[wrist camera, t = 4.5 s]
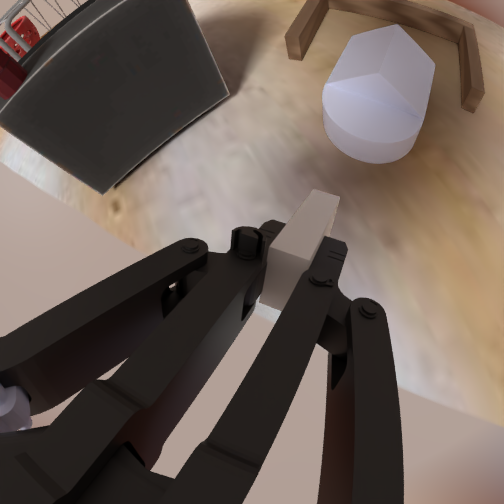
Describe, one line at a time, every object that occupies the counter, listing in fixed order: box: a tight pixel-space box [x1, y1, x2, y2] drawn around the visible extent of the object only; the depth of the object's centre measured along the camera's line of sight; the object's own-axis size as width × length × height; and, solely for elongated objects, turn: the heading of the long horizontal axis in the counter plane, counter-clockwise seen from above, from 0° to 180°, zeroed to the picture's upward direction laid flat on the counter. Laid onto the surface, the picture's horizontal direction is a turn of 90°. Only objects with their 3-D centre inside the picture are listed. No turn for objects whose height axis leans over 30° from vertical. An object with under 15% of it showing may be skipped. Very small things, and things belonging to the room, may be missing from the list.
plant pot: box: [0, 16, 40, 59], centre depth 42 cm, size 13×13×12 cm
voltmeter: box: [0, 0, 230, 196], centre depth 22 cm, size 16×16×20 cm
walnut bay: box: [285, 0, 485, 113], centre depth 25 cm, size 21×14×4 cm
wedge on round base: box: [322, 24, 436, 164], centre depth 22 cm, size 9×7×13 cm
